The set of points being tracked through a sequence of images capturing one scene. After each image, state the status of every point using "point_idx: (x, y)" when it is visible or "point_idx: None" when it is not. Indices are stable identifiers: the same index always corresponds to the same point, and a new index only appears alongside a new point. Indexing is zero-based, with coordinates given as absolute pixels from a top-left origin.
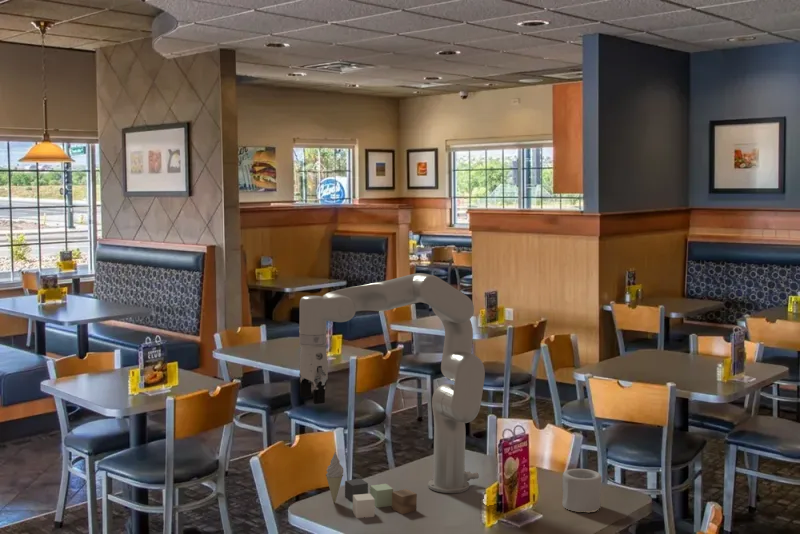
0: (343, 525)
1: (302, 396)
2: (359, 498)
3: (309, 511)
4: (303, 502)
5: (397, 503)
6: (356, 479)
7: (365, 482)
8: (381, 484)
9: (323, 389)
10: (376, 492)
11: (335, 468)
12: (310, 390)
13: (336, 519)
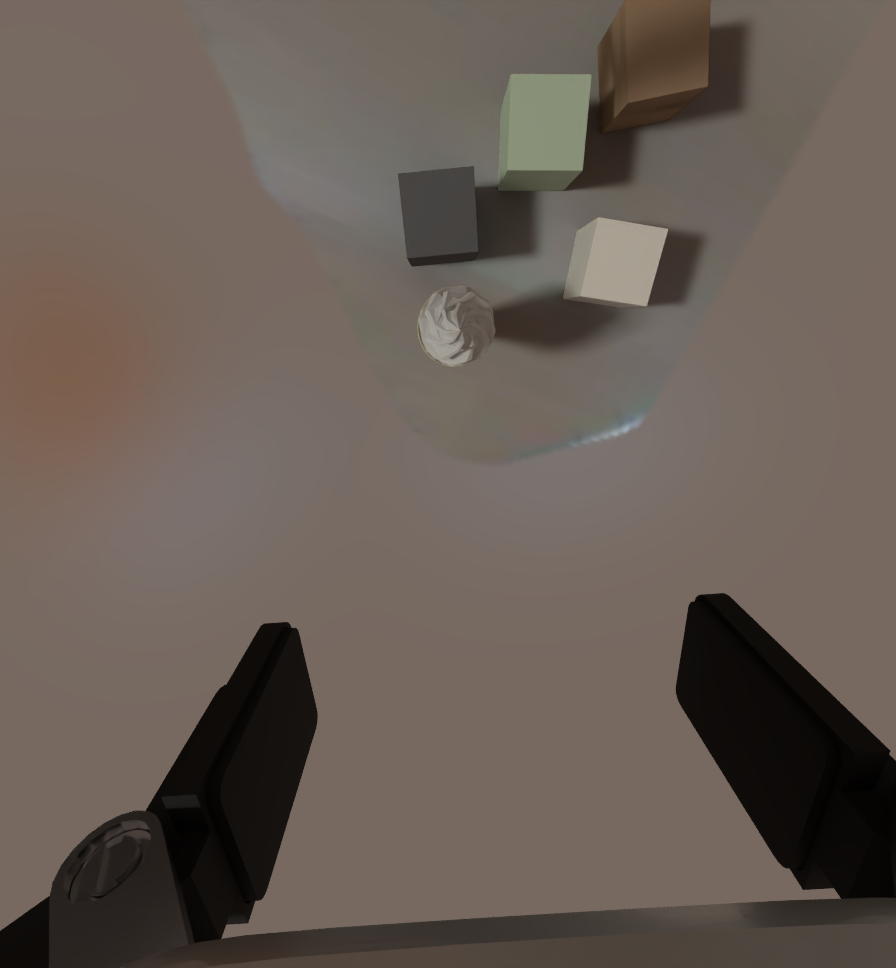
0: (654, 373)
1: (315, 710)
2: (629, 286)
3: (497, 429)
4: (413, 421)
5: (654, 111)
6: (405, 198)
7: (459, 173)
8: (513, 105)
9: (872, 763)
10: (575, 173)
11: (487, 336)
12: (273, 684)
13: (598, 375)
